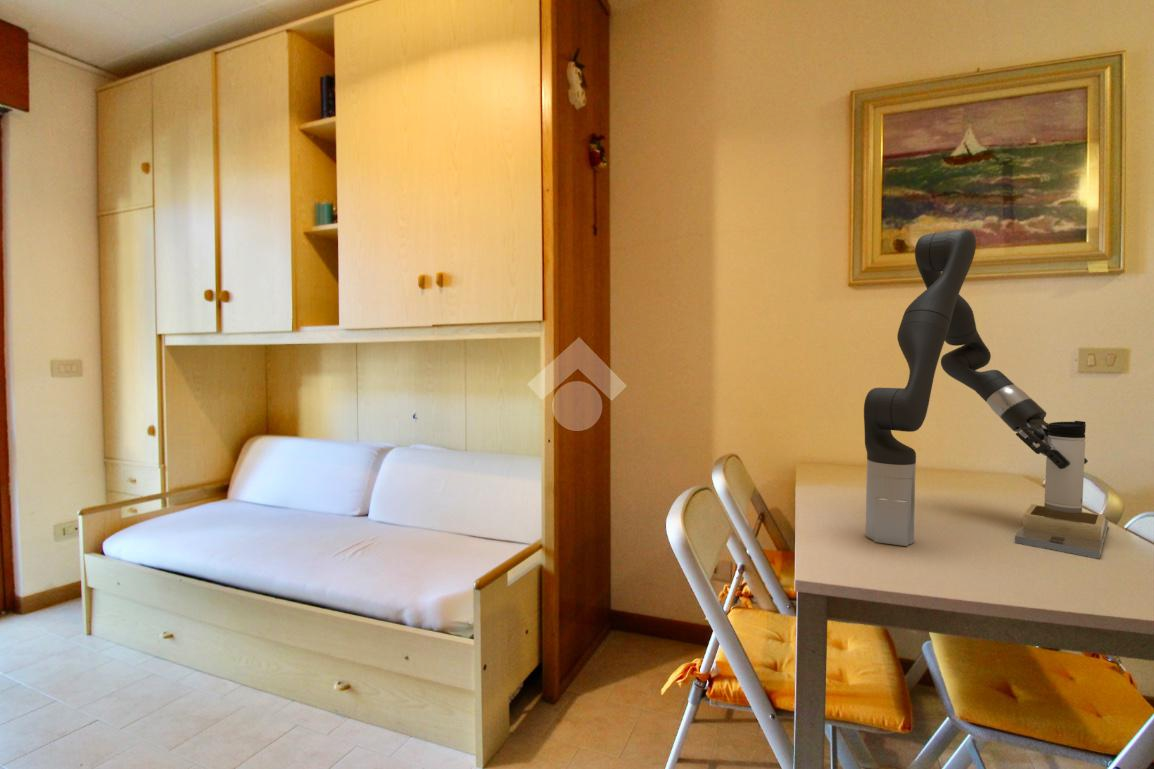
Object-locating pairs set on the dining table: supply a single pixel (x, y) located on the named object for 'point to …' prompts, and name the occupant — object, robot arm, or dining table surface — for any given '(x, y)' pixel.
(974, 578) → the dining table surface
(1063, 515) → the open tray on base
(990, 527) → the dining table surface
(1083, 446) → the travel mug
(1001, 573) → the dining table surface
